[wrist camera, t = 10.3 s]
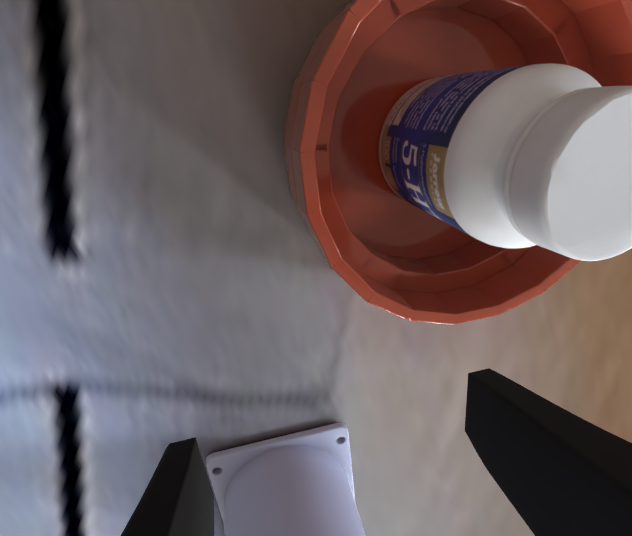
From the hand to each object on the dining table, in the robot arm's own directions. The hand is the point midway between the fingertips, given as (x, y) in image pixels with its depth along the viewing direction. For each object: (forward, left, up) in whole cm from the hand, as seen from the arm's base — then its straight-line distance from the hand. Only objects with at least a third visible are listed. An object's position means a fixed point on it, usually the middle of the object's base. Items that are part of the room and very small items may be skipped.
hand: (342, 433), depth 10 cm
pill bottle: (+6, -7, -9) cm, 13 cm away
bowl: (+6, -7, -9) cm, 13 cm away
